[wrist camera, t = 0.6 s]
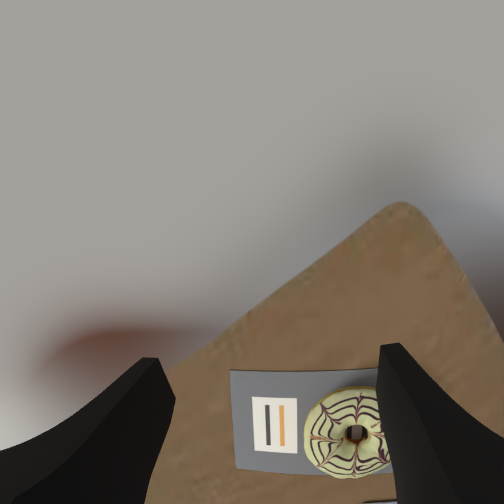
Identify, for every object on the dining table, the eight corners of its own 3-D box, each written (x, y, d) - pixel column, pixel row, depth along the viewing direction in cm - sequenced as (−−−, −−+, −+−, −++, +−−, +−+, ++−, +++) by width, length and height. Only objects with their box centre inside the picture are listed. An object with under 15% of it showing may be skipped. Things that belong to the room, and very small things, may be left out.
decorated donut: (399, 465, 27) (402, 482, 23) (305, 464, 30) (298, 480, 26) (411, 379, 28) (416, 390, 24) (309, 381, 31) (302, 391, 28)
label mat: (405, 470, 26) (405, 471, 26) (236, 467, 32) (235, 468, 32) (414, 364, 28) (415, 365, 28) (229, 370, 34) (229, 370, 34)
